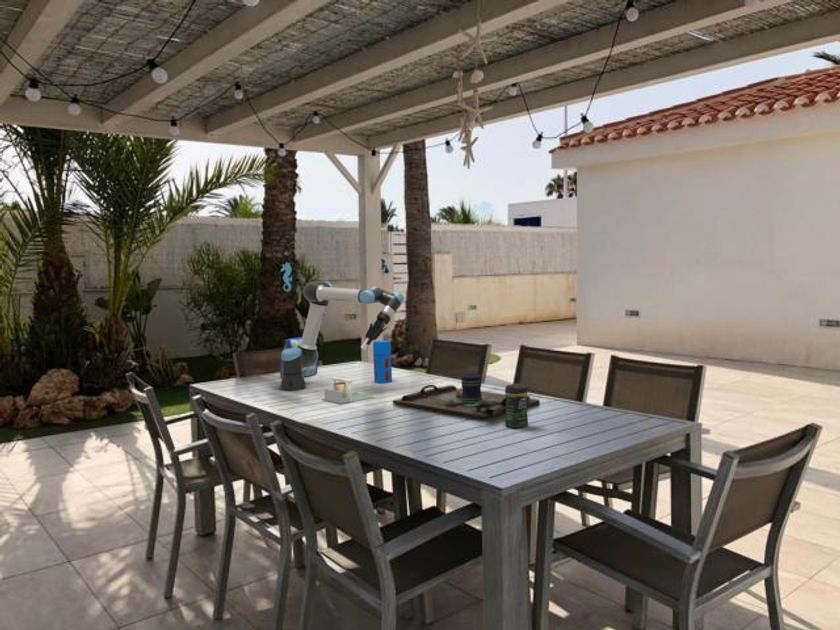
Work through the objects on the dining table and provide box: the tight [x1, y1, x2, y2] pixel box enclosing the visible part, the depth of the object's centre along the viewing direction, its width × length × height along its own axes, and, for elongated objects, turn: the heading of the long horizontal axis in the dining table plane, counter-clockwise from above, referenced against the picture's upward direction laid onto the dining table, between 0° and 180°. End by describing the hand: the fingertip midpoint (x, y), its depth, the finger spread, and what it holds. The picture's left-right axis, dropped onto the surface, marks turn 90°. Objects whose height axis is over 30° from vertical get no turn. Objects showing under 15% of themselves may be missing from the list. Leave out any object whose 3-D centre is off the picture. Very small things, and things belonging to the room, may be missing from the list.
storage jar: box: [461, 373, 483, 404], centre depth 336 cm, size 10×10×15 cm
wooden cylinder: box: [332, 381, 348, 399], centre depth 356 cm, size 7×7×9 cm
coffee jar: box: [504, 382, 529, 429], centre depth 290 cm, size 10×8×19 cm
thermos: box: [372, 339, 393, 385], centre depth 410 cm, size 11×11×25 cm
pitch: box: [321, 392, 375, 405], centre depth 363 cm, size 18×22×1 cm
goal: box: [324, 376, 353, 405], centre depth 356 cm, size 16×7×11 cm, turn 41°
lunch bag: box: [279, 336, 319, 379], centre depth 439 cm, size 22×17×26 cm
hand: (362, 348), depth 370 cm, fingers closed
